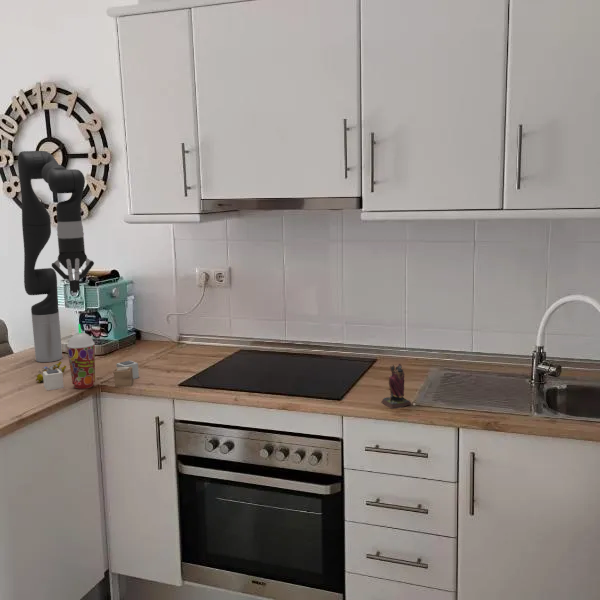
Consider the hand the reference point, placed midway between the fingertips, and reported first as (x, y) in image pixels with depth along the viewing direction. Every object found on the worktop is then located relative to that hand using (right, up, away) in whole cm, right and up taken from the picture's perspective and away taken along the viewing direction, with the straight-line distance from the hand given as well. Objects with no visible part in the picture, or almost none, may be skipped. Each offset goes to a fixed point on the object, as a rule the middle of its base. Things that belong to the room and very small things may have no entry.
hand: (75, 292), depth 216 cm
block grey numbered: (+13, -28, +13) cm, 34 cm away
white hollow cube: (-8, -30, +4) cm, 31 cm away
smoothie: (+1, -30, +5) cm, 30 cm away
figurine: (+96, -32, -19) cm, 103 cm away
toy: (-13, -28, +16) cm, 35 cm away
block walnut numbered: (+14, -29, +6) cm, 33 cm away
